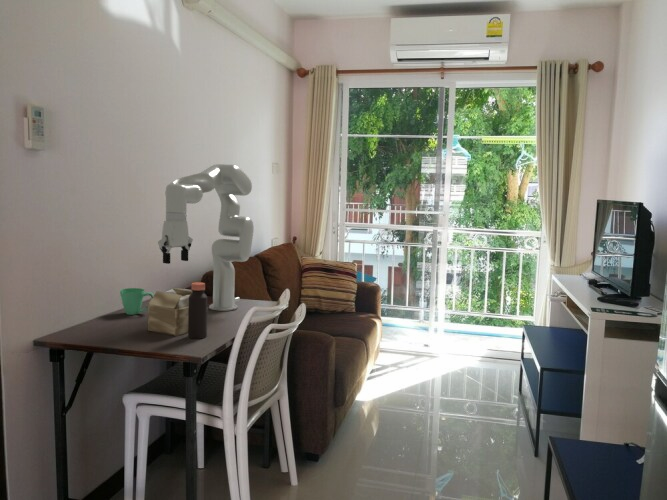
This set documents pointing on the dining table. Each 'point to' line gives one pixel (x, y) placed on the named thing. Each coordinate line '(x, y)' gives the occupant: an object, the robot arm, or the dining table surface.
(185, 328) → the carton
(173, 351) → the dining table surface
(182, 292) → the rear flap
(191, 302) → the bottle
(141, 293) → the mug
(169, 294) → the front flap
